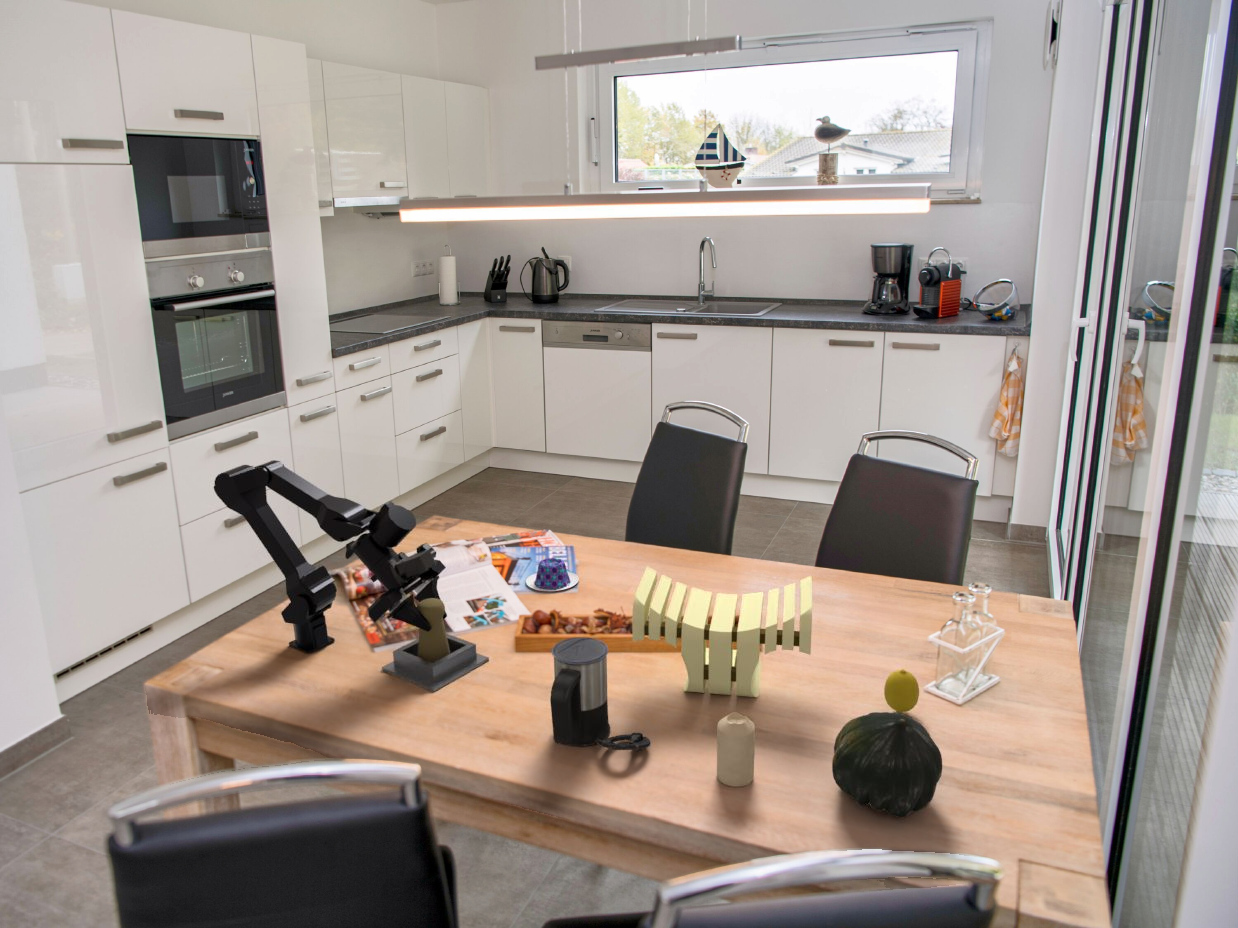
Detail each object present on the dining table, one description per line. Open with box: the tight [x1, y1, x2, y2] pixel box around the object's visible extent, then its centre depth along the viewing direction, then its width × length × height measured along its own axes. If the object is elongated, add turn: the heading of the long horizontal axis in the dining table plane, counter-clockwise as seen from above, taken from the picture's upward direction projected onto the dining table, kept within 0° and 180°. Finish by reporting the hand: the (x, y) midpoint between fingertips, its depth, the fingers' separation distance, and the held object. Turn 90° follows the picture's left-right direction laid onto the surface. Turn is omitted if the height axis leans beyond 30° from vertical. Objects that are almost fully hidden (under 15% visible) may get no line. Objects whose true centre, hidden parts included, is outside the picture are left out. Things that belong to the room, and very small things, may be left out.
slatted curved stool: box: [631, 565, 813, 698], centre depth 162 cm, size 30×16×18 cm, turn 79°
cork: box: [416, 598, 450, 663], centre depth 169 cm, size 6×6×11 cm
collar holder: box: [381, 632, 490, 693], centre depth 171 cm, size 14×14×4 cm
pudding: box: [525, 557, 580, 592], centre depth 207 cm, size 12×12×5 cm
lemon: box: [883, 668, 920, 714], centre depth 151 cm, size 6×6×8 cm
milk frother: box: [549, 636, 652, 751], centre depth 144 cm, size 14×16×15 cm
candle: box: [716, 711, 756, 788], centre depth 135 cm, size 6×6×10 cm
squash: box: [831, 711, 943, 819], centre depth 129 cm, size 14×15×15 cm
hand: (437, 623), depth 168 cm, fingers closed on cork, 5 cm apart
